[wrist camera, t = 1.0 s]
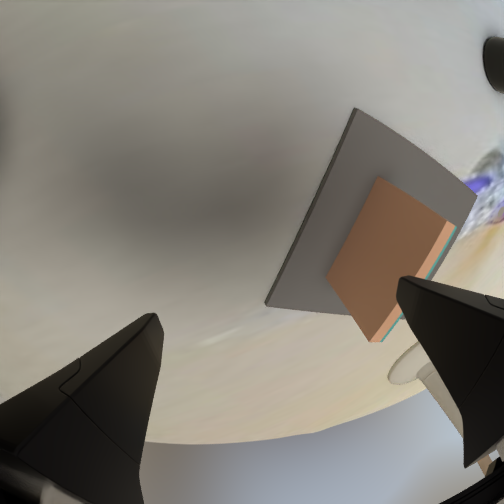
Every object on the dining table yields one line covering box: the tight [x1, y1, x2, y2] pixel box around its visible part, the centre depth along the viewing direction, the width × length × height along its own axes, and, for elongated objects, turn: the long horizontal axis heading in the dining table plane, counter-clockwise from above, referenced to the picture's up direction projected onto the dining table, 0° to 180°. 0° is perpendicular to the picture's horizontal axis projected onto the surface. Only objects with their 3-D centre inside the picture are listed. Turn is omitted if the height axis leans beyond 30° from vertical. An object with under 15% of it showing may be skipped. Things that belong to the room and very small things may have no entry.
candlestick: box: [388, 341, 492, 475], centre depth 31 cm, size 13×13×30 cm
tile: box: [325, 176, 457, 342], centre depth 21 cm, size 2×10×8 cm, turn 159°
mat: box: [265, 108, 477, 319], centre depth 26 cm, size 20×18×1 cm
